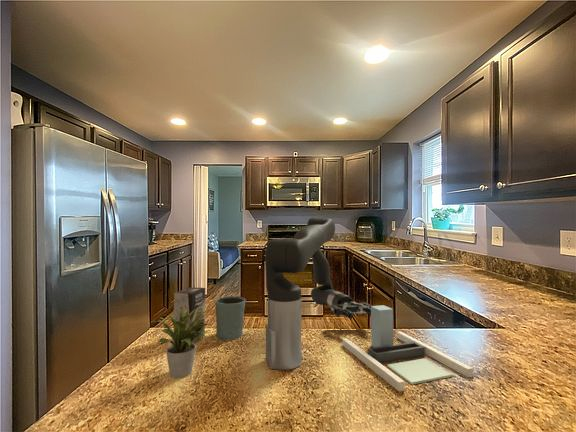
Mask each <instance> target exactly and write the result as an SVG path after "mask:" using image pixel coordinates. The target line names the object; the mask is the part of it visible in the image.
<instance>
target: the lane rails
mask: <svg viewBox="0 0 576 432" xmlns="http://www.w3.org/2000/svg"><path fill="white" fill-rule="evenodd" d="M396 339H398V340H399V341H401V342H404V343H410V342H416V343H418V344H420V345H422V346H424V347H425V355H427V356H429V357H430V358H432V359H434V360H436V361H438V362H439V363H441V364H443V365H444V366H447V367H448V368H450V369H452V370H454V371H456V372H457V373H459V374H461V375H463V376H465V377H467V378H472V377H473V376H474V375H473V372H474V371H473V367H471V366H469V365H467V364H465V363H463V362H461V361H460V360H457V359H455V358H453V357H451V356H449V355H448V354H446V353H443V352H442V351H440V350H439V349H436V348H434V347H432V346H430V345H428V344H427V343H425V342H423V341H420V340H418V339H416V338H415V337H412V336H410V335H409V334H407V333H404V331H397V332H396ZM342 346H343V347H344V348H345V349H346V350H348V351H349V352H350V353H351V354H352V355H354V356H355V357H356V358H357V359H358V360H360V361H361V362H362V363H363V364H365V365H366V366H367V367H369V368H370V369H371V370H372V371H373V372H374V373H376V375H378V376H379V377H380V378H382V380H384V381H385V382H387V383H388V384H389V385H390V386H391V387H393V388H394V389H395V390H397V392H404V391H406V386H405V381H406V380H403V378H402V377H399V375H398V374H396V373H395V372H394V371H392V370H391V369H390V368H389V369H388V367H386V366H384V365H383V363H379V362H378V361H377V360H375V359H374V358H373V357H371V356H370V355H368V352H366V351H364V350H363V349H362V348H360V347H359V346H358V345H356V344H355V343H354V342H353V341H351V340H350V339H348V338H342Z"/></svg>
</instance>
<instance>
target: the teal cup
mask: <svg viewBox="0 0 576 432" xmlns="http://www.w3.org/2000/svg"><path fill="white" fill-rule="evenodd" d="M214 302H215V303H214V306H215V316H216V317H215V322H216V326H215V327H216V328H215V331H216V335H215V336H216V337H217V339H218V340H220V341H221V340H222V341H232V340H237V339H240V338H241V337H242V335H243V331H244V325H243V324H244V319H245V317H244V314H245V307H246V298H244V297H243V296H242V297H241V296H234V295H233V296H231V295H230V296H228V295H227V296H222V297H218V298H216V299H215V300H214Z"/></svg>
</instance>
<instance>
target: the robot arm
mask: <svg viewBox="0 0 576 432" xmlns="http://www.w3.org/2000/svg"><path fill="white" fill-rule="evenodd" d="M335 233H336V224H335V222H334V220H333V219H331V218H328V217H310V218H309V219H308V221H307V223H306V226H303V227H302V228H300V229H298V230H297V231H296V233H295V234H294V236H293V238H273V239H270V240H269V241H268V242H267V244H266V248H265V254H264V257H265V258H264V259H265V260H264V261H265V262H264V263H265V281H266V282H265V284H266V286H265V287H266V292H267V323H266V324H265V361H266V363H267V365H268V367H269V369H270V370H280V371H281V370H283V371H286V370H293V369H296V368H298V367H299V366H301V364H302V356H303V355H302V354H303V352H302V288H301V287H300V286H299V285H297V284H296V283H294V282H291V281H290V280H288V279H287V278H286V277H285V276H284V273H285V274H297V273H298V274H299V273H301V272H302V271H304V269H305V268H306V266H307V265H308V263H309V261H310V260H311V259H312V266H313V267H312V268H313V279H314V282H315V284H317V285H318V286H315V287H313V288H312V289H311V291H310V297H311V300H312V301H313V302H314V303H315V304H317V305H322V306H327V307H329V308H330V310H331V313H333V314H334V315H335V316H337V317H346V318H348V319H349V320H352V319H353V314H358V315H362V314H366V315H369V316H370V317H371V306H373V305H372V304H369V303H367V302H364V301H362V302H360V303H358V302H356V301H354V299H353V298H352V297H351V296H349V295H348V294H345V293H343V292H341V291H337V290H335V289H334V287H333V283H332V280H331V271H330V270H331V269H330V263H329V261H328V258H327V257H326V256H325V254H324V252H322V250H321V247H322V246H323V245H324V244H326V243H327V242H330V241H331V240H332V239H333V237H334V236H335Z"/></svg>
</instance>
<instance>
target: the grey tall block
mask: <svg viewBox="0 0 576 432" xmlns="http://www.w3.org/2000/svg"><path fill="white" fill-rule="evenodd" d="M370 328H371V329H370V334H371V336H370V339H371V340H370V342H371V346H372V348H375V347H382V346H389V345H395V344H394V308H392V307H389V306H387V305H384V304H383V305H372V306H371V316H370Z"/></svg>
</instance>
